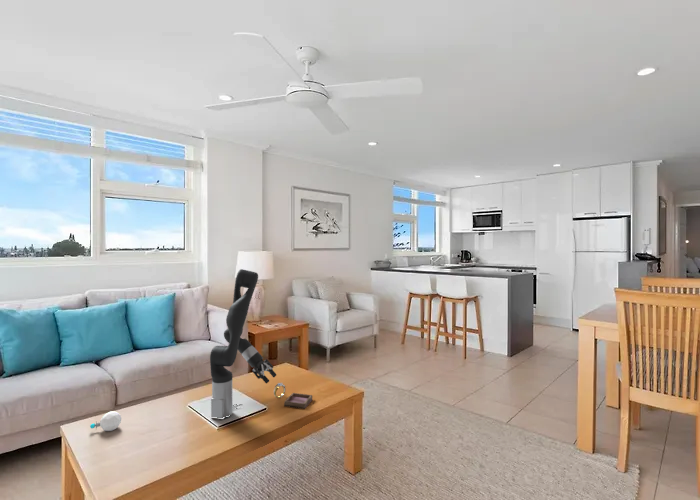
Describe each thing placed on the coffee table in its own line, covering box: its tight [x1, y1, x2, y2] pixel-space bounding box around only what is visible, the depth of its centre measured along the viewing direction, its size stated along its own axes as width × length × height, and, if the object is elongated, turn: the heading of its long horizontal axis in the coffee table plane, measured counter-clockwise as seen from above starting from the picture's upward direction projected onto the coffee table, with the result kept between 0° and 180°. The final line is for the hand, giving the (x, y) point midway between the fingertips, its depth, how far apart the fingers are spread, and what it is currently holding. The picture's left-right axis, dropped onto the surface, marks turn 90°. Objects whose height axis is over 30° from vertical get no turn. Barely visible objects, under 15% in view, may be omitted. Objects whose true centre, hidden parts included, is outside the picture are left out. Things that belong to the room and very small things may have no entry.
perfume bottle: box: [89, 410, 122, 432], centre depth 164 cm, size 8×8×12 cm
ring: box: [273, 382, 287, 399], centre depth 199 cm, size 7×3×8 cm, turn 133°
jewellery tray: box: [283, 392, 313, 410], centre depth 193 cm, size 11×11×2 cm
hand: (271, 379), depth 200 cm, fingers open, 8 cm apart
